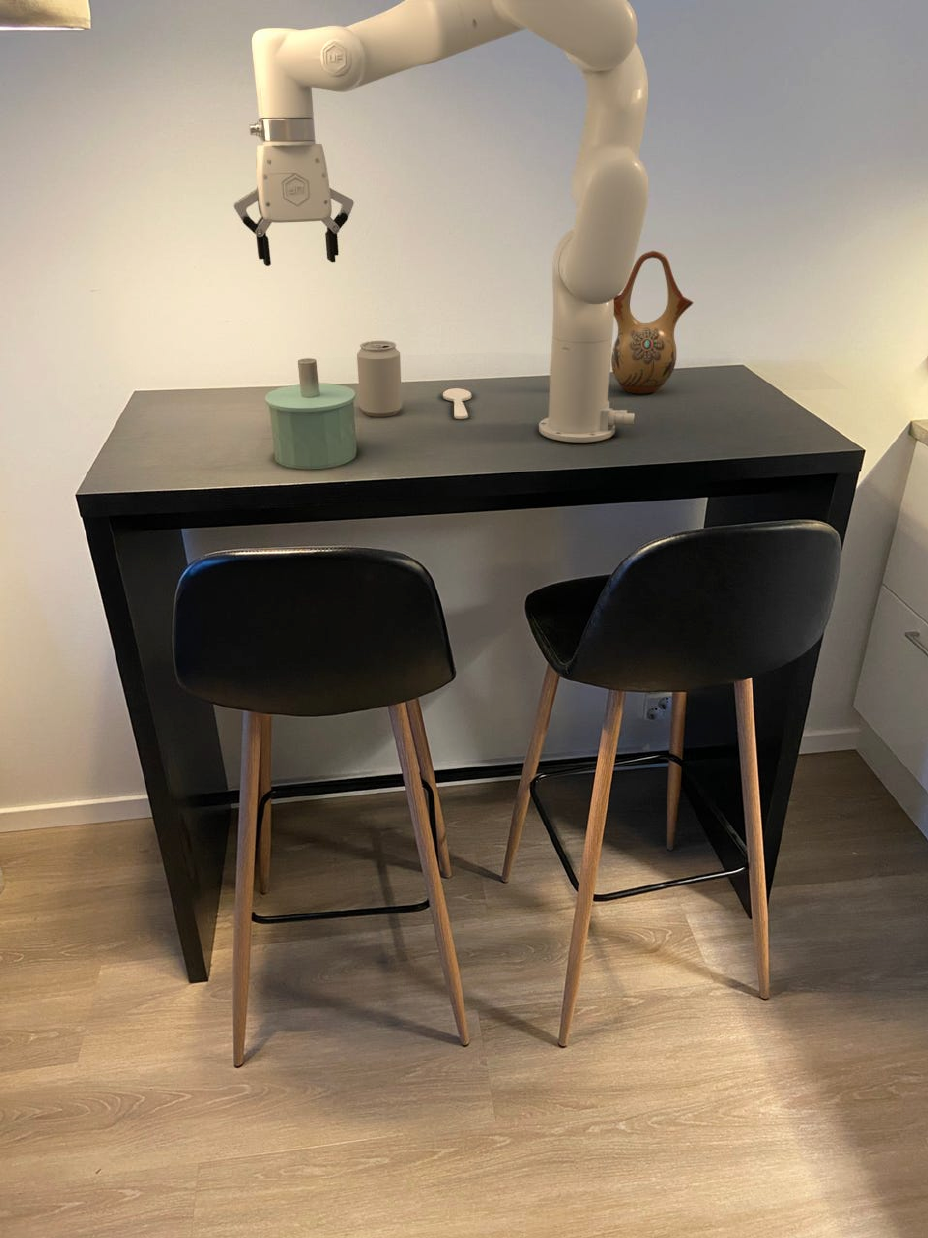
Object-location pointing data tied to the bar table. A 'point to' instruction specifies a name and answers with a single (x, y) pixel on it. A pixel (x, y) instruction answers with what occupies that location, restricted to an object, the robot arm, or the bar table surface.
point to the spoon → (458, 401)
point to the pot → (314, 437)
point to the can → (379, 378)
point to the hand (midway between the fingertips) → (299, 262)
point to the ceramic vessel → (646, 336)
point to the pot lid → (309, 392)
